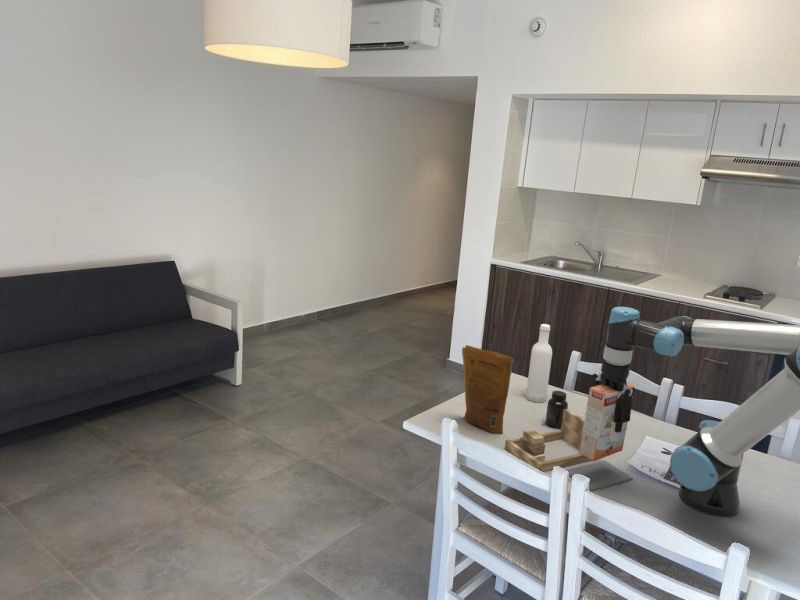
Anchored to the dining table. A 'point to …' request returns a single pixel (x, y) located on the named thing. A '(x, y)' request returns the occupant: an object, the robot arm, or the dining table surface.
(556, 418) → the supplement bottle
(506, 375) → the pancake mix bag
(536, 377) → the bottle
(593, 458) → the cracker box
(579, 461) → the oak rack
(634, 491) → the dining table surface
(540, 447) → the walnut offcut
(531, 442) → the oak offcut
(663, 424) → the dining table surface
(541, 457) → the birch offcut
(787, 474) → the dining table surface
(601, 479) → the felt mat
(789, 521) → the dining table surface
